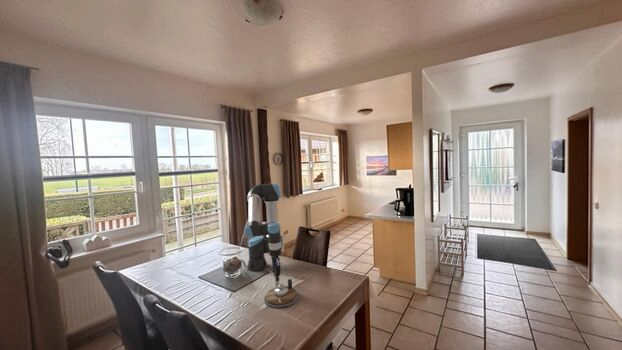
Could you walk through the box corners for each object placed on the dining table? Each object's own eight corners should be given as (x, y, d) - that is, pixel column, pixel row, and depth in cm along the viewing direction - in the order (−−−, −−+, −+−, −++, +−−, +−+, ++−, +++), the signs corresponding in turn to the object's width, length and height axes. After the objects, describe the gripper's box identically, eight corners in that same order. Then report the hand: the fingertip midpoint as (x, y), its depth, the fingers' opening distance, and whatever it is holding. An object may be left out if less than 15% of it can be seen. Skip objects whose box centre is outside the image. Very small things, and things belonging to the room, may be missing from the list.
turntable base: (261, 294, 153) (261, 292, 153) (292, 286, 161) (291, 285, 161) (268, 312, 135) (268, 309, 134) (303, 302, 142) (303, 300, 142)
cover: (273, 292, 150) (272, 284, 150) (285, 288, 153) (285, 280, 153) (276, 298, 143) (276, 290, 142) (289, 294, 146) (289, 286, 145)
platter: (263, 292, 152) (262, 282, 152) (291, 285, 159) (290, 276, 159) (270, 308, 136) (269, 296, 135) (300, 299, 143) (300, 288, 142)
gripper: (266, 246, 159) (268, 282, 160) (271, 252, 147) (274, 291, 148) (278, 244, 162) (280, 279, 163) (283, 250, 150) (286, 288, 151)
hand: (277, 285), depth 156 cm, fingers closed
